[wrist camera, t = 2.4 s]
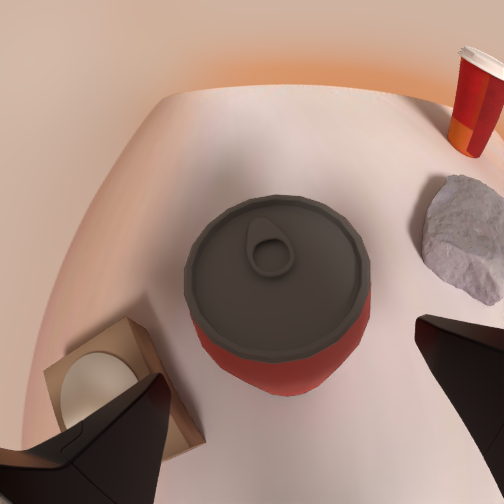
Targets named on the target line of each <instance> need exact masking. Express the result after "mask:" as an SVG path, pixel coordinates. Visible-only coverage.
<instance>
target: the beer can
mask: <svg viewBox="0 0 504 504" xmlns="http://www.w3.org/2000/svg"><path fill="white" fill-rule="evenodd" d="M184 296H185V299H186V302H187V304H188V307H189V310H190V315H191V318H192V321H193V324H194V326H195V329H196V332H197V334H198V337H199V339H200V342H201V344H202V347H203V348H204V349H205V350H206V351H207V353H208V354H209V355H210V356H211V357H212V358H213V360H214V361H215V362H216V363H217V364H218V365H219V366H220V368H222V369H223V370H225V371H227V372H229V373H230V374H232V375H234V376H236V377H238V378H239V379H241V380H243V381H245V382H247V383H249V384H251V385H253V386H255V387H257V388H259V389H262V390H264V391H266V392H268V393H270V394H275V395H281V396H293V395H299V394H304V393H306V392H308V391H310V390H312V389H314V388H316V387H318V386H319V385H320V384H321V383H322V382H323V381H324V380H326V379H327V378H328V377H329V376H330V375H331V374H332V373H333V372H334V371H335V370H336V369H337V368H338V367H339V366H340V365H341V364H342V363H343V362H344V361H345V360H346V359H347V358H348V356H349V355H350V354H351V353H352V352H353V351H354V350H355V348H356V347H357V346H358V345H359V343H360V341H361V338H362V336H363V333H364V331H365V328H366V326H367V323H368V320H369V318H370V300H371V282H370V260H369V257H368V254H367V251H366V249H365V246H364V243H363V241H362V238H361V236H360V235H359V234H358V233H357V232H356V230H355V229H354V228H353V227H352V225H351V224H350V223H349V222H348V221H347V219H346V218H345V217H343V216H342V215H340V214H339V213H337V212H336V211H334V210H333V209H331V208H330V207H328V206H327V205H325V204H323V203H320V202H317V201H314V200H311V199H308V198H304V197H301V196H289V195H271V196H265V197H259V198H254V199H250V200H247V201H245V202H243V203H240V204H238V205H236V206H234V207H232V208H229V209H227V210H226V211H225V212H223V213H222V214H221V215H219V216H218V217H217V218H216V219H214V220H213V221H212V222H211V223H209V224H208V225H207V226H206V228H205V229H204V230H203V232H202V233H201V234H200V236H199V237H198V238H197V240H196V241H195V242H194V244H193V245H192V248H191V251H190V254H189V257H188V259H187V262H186V265H185V268H184Z"/></svg>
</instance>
